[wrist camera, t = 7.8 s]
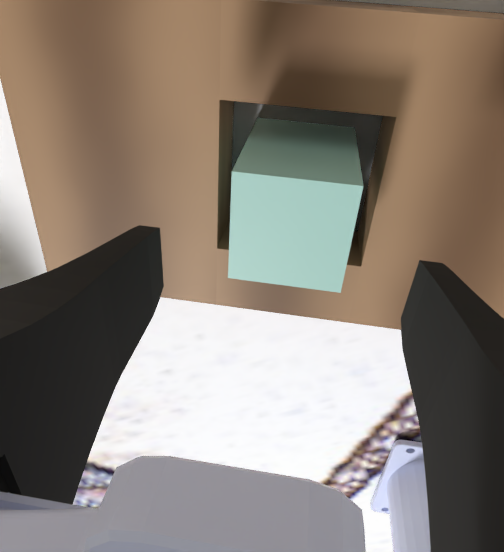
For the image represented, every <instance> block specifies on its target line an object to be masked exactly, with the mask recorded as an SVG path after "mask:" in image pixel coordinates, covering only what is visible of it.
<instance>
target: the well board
mask: <svg viewBox="0 0 504 552" xmlns="http://www.w3.org/2000/svg"><path fill="white" fill-rule="evenodd" d="M0 79H1V83H2V87H3V91H4V95H5V99H6V103H7V107H8V112H9V116H10V120H11V124H12V128H13V132H14V136H15V140H16V145H17V149H18V153H19V157H20V161H21V165H22V169H23V173H24V177H25V182H26V186H27V190H28V194H29V198H30V202H31V206H32V210H33V214H34V219H35V223H36V227H37V231H38V235H39V239H40V243H41V247H42V251H43V256H44V260H45V264H46V268H47V272H48V271H51V270H53V269H55V268H58V267H60V266H62V265H64V264H66V263H68V262H70V261H72V260H74V259H76V258H78V257H80V256H82V255H84V254H86V253H88V252H90V251H92V250H94V249H95V248H97V247H99V246H101V245H103V244H104V243H106V242H108V241H110V240H112V239H114V238H115V237H117V236H119V235H121V234H122V233H124V232H126V231H128V230H130V229H132V228H134V227H136V226H139V225H142V226H150V227H158V228H160V235H161V251H162V266H163V282H164V287H163V290H162V293H161V296H160V297H165V298H172V299H179V300H187V301H194V302H201V303H209V304H216V305H223V306H231V307H238V308H245V309H253V310H260V311H268V312H275V313H282V314H290V315H297V316H304V317H312V318H319V319H326V320H334V321H341V322H348V323H356V324H363V325H370V326H378V327H385V328H393V329H400V330H401V316H402V313H403V310H404V307H405V303H406V300H407V297H408V294H409V291H410V288H411V285H412V282H413V279H414V276H415V272H416V269H417V266H418V263H419V260H423V261H431V262H439V263H443V264H445V265H446V266H447V267H448V268H449V269H451V270H452V271H453V272H454V273H455V274H456V275H457V276H458V277H459V278H460V279H461V280H462V281H463V282H464V283H465V284H466V285H467V286H468V287H470V288H471V289H472V290H473V291H474V292H475V293H476V294H477V295H478V296H479V297H480V298H481V299H482V300H483V301H484V302H485V303H487V304H488V305H489V306H490V307H491V308H492V309H493V310H494V311H495V312H497V313H498V314H499V315H500V316H501V317H502V318H504V13H492V12H479V11H466V10H453V9H440V8H427V7H414V6H401V5H388V4H375V3H362V2H349V1H336V0H0ZM234 101H238V102H248V103H258V104H269V105H279V106H289V107H299V108H310V109H320V110H330V111H340V112H351V113H361V114H371V115H381V116H383V118H382V122H381V127H380V131H379V136H378V141H377V145H376V150H375V154H374V159H373V163H372V168H371V173H370V177H369V182H368V186H367V191H366V195H365V200H364V205H363V209H362V214H361V218H360V223H359V227H358V231H354V233H353V238H352V242H351V247H350V252H349V256H348V261H347V266H346V270H345V275H344V280H343V284H342V289H341V293H338V292H330V291H323V290H315V289H308V288H300V287H292V286H285V285H277V284H270V283H262V282H255V281H247V280H239V279H232V278H228V263H229V234H230V202H231V172H232V143H233V113H234Z"/></svg>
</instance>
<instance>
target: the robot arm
mask: <svg viewBox="0 0 504 552" xmlns="http://www.w3.org/2000/svg"><path fill="white" fill-rule="evenodd" d="M163 287H164V282H163V266H162V251H161V235H160V228H158V227H150V226H142V225H139V226H136V227H134V228H132V229H130V230H128V231H126V232H124V233H122V234H121V235H119V236H117V237H115V238H114V239H112V240H110V241H108V242H106V243H104V244H103V245H101V246H99V247H97V248H95V249H94V250H92V251H90V252H88V253H86V254H84V255H82V256H80V257H78V258H76V259H74V260H72V261H70V262H68V263H66V264H64V265H62V266H60V267H58V268H55V269H53V270H51V271H48V272H46V273H44V274H41V275H39V276H36V277H33V278H31V279H28V280H26V281H23V282H20V283H17V284H14V285H11V286H8V287H4V288H1V289H0V552H365V535H364V523H363V515H362V509H360V508H359V507H358V506H357V505H356V504H355V503H354V502H352V501H351V500H350V499H349V498H348V497H347V496H345V495H344V494H343V493H342V492H341V491H339V490H338V489H336V488H333V487H330V486H327V485H324V484H321V483H318V482H315V481H312V480H309V479H303V478H297V477H291V476H285V475H279V474H273V473H267V472H261V471H255V470H249V469H243V468H237V467H231V466H225V465H219V464H213V463H207V462H201V461H195V460H189V459H183V458H177V457H171V456H141V457H138V458H135V459H133V460H131V461H129V462H127V463H125V464H123V465H121V466H119V467H117V468H116V470H115V473H114V475H113V477H112V480H111V482H110V484H109V487H108V489H107V491H106V494H105V496H104V498H103V501H102V503H101V505H100V508H89V507H83V506H78V505H72V504H73V501H74V498H75V495H76V492H77V489H78V485H79V483H80V480H81V477H82V474H83V471H84V468H85V465H86V462H87V460H88V457H89V454H90V451H91V448H92V445H93V443H94V440H95V437H96V435H97V432H98V429H99V427H100V424H101V421H102V419H103V416H104V414H105V411H106V409H107V406H108V404H109V401H110V399H111V396H112V394H113V391H114V389H115V387H116V384H117V382H118V380H119V378H120V376H121V374H122V372H123V370H124V369H125V367H126V365H127V363H128V361H129V359H130V358H131V356H132V354H133V352H134V350H135V348H136V347H137V345H138V343H139V341H140V339H141V337H142V336H143V334H144V332H145V330H146V328H147V326H148V324H149V322H150V321H151V319H152V317H153V315H154V312H155V310H156V307H157V304H158V302H159V299H160V296H161V293H162V290H163ZM401 333H402V346H403V353H404V358H405V362H406V367H407V371H408V376H409V380H410V384H411V389H412V393H413V398H414V402H415V406H416V411H417V415H418V420H419V425H420V431H421V438H422V443H421V442H415V441H408V440H397V441H395V442H394V444H393V446H392V449H391V451H390V454H389V457H388V459H387V462H386V464H385V467H384V469H383V472H382V474H381V477H380V480H379V482H378V485H377V487H376V490H375V492H374V495H373V498H372V500H371V509H372V510H373V511H376V512H381V513H387V514H390V523H391V533H392V542H393V551H394V552H504V318H502V317H501V316H500V315H499V314H498V313H497V312H495V311H494V310H493V309H492V308H491V307H490V306H489V305H488V304H487V303H485V302H484V301H483V300H482V299H481V298H480V297H479V296H478V295H477V294H476V293H475V292H474V291H473V290H472V289H471V288H470V287H468V286H467V285H466V284H465V283H464V282H463V281H462V280H461V279H460V278H459V277H458V276H457V275H456V274H455V273H454V272H453V271H452V270H451V269H449V268H448V267H447V266H446V265H445V264H443V263H439V262H431V261H423V260H419V263H418V266H417V269H416V272H415V276H414V279H413V282H412V285H411V288H410V291H409V294H408V297H407V300H406V303H405V307H404V310H403V313H402V316H401Z"/></svg>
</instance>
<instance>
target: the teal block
mask: <svg viewBox="0 0 504 552" xmlns="http://www.w3.org/2000/svg"><path fill="white" fill-rule="evenodd" d="M362 191H363V179H362V172H361V166H360V159H359V152H358V145H357V139H356V132H355V127H345V126H335V125H326V124H316V123H306V122H296V121H286V120H276V119H266V118H257V120H256V122H255V124H254V126H253V128H252V130H251V132H250V134H249V136H248V138H247V141H246V143H245V145H244V147H243V149H242V151H241V153H240V155H239V157H238V159H237V161H236V163H235V166H234V168H233V170H232V177H231V205H230V234H229V263H228V278H232V279H239V280H247V281H255V282H262V283H270V284H277V285H285V286H292V287H300V288H308V289H315V290H323V291H330V292H338V293H341V289H342V284H343V280H344V275H345V270H346V266H347V261H348V256H349V252H350V247H351V242H352V238H353V233H354V228H355V224H356V219H357V214H358V210H359V205H360V200H361V196H362Z"/></svg>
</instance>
